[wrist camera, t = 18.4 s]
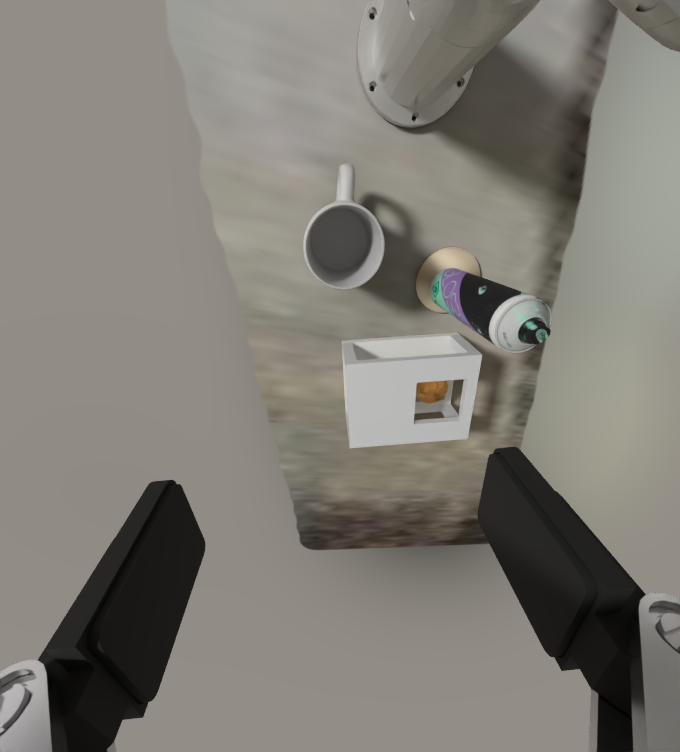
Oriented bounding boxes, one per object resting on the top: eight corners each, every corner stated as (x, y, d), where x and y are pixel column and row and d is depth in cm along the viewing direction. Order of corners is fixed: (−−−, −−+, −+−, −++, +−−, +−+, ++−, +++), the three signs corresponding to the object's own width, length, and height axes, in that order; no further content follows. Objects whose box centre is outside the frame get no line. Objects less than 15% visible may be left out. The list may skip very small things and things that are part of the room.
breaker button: (409, 364, 50) (416, 376, 46) (440, 362, 50) (449, 373, 46) (408, 391, 52) (414, 404, 49) (437, 389, 52) (446, 402, 49)
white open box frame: (341, 340, 48) (345, 364, 41) (457, 332, 49) (482, 354, 41) (345, 415, 55) (350, 448, 47) (447, 407, 55) (467, 438, 48)
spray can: (438, 262, 43) (531, 297, 25) (472, 273, 44) (585, 313, 26) (423, 301, 45) (499, 357, 28) (456, 310, 46) (550, 370, 29)
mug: (367, 274, 44) (380, 292, 34) (306, 271, 43) (302, 288, 34) (377, 173, 38) (396, 160, 29) (307, 167, 38) (302, 152, 28)
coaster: (417, 249, 43) (419, 249, 42) (482, 245, 43) (484, 245, 42) (413, 313, 47) (415, 314, 46) (473, 309, 47) (474, 310, 47)
